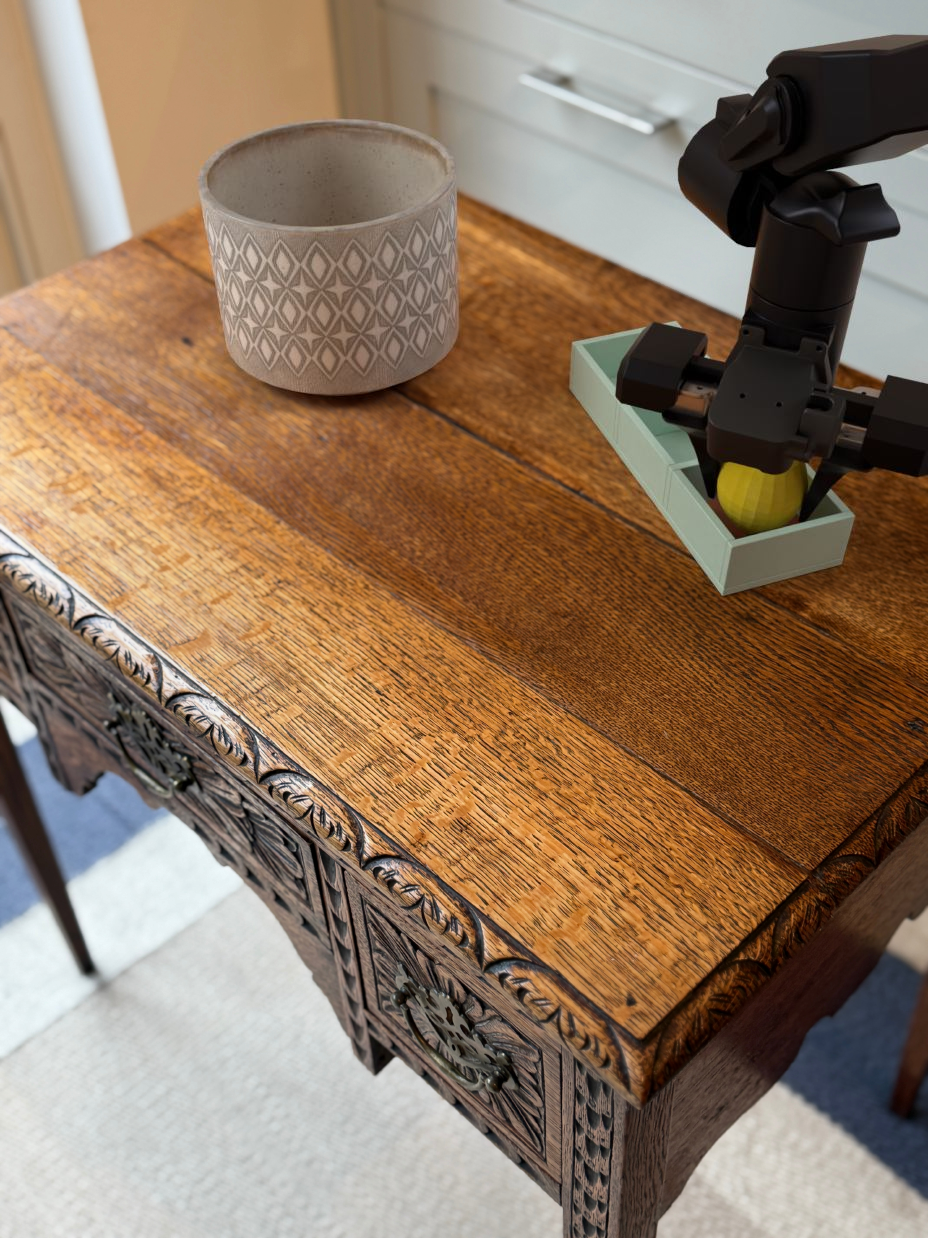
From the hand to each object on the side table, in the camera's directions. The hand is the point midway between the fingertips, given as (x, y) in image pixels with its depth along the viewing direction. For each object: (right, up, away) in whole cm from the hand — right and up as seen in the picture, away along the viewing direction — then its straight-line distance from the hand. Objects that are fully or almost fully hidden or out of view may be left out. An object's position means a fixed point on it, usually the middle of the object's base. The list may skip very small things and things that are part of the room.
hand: (757, 506), depth 76 cm
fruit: (0, -2, +1) cm, 2 cm away
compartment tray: (-3, +3, +7) cm, 9 cm away
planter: (-29, +15, +20) cm, 38 cm away
